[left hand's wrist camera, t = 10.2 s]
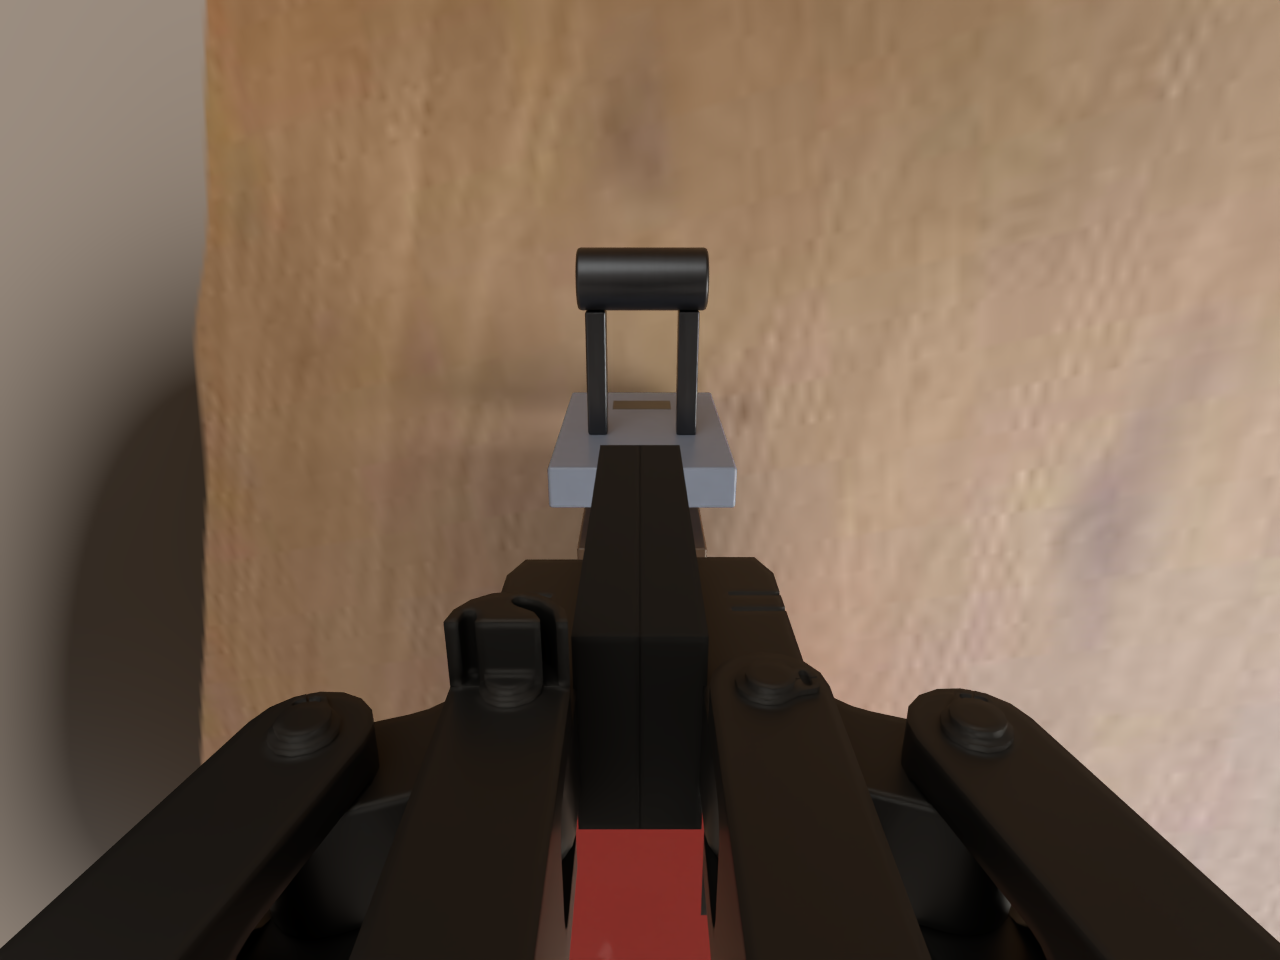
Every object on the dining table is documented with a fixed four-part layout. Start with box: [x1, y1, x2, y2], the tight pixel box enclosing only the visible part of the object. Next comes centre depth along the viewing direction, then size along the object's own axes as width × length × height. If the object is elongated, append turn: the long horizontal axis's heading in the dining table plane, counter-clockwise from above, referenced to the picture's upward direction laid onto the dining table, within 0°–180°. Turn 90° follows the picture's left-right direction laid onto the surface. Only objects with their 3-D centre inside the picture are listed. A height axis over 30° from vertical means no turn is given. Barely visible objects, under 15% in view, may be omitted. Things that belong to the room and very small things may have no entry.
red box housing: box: [569, 815, 711, 960], centre depth 32 cm, size 19×6×10 cm, turn 0°
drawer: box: [548, 248, 737, 560], centre depth 27 cm, size 23×5×8 cm, turn 0°
